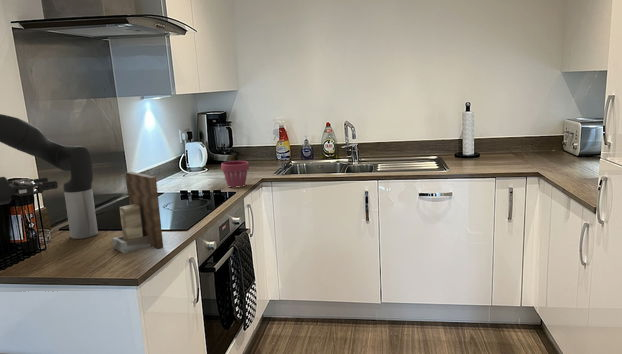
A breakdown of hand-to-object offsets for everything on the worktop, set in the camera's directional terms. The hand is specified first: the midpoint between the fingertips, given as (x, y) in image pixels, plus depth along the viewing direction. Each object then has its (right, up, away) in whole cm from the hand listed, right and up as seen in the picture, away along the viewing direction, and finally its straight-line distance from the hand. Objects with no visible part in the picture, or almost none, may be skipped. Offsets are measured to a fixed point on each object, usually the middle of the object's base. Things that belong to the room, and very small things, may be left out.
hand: (52, 182), depth 141 cm
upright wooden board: (+17, -22, +20) cm, 34 cm away
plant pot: (+37, -4, +112) cm, 118 cm away
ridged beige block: (+17, -22, +20) cm, 34 cm away
